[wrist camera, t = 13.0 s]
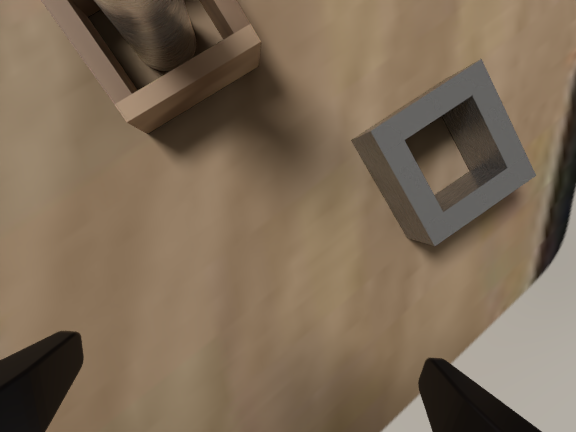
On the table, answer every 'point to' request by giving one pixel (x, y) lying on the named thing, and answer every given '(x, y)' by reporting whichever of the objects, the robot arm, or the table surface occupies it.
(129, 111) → the block
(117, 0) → the silver and grey cylinder
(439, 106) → the socket block
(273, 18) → the table surface
